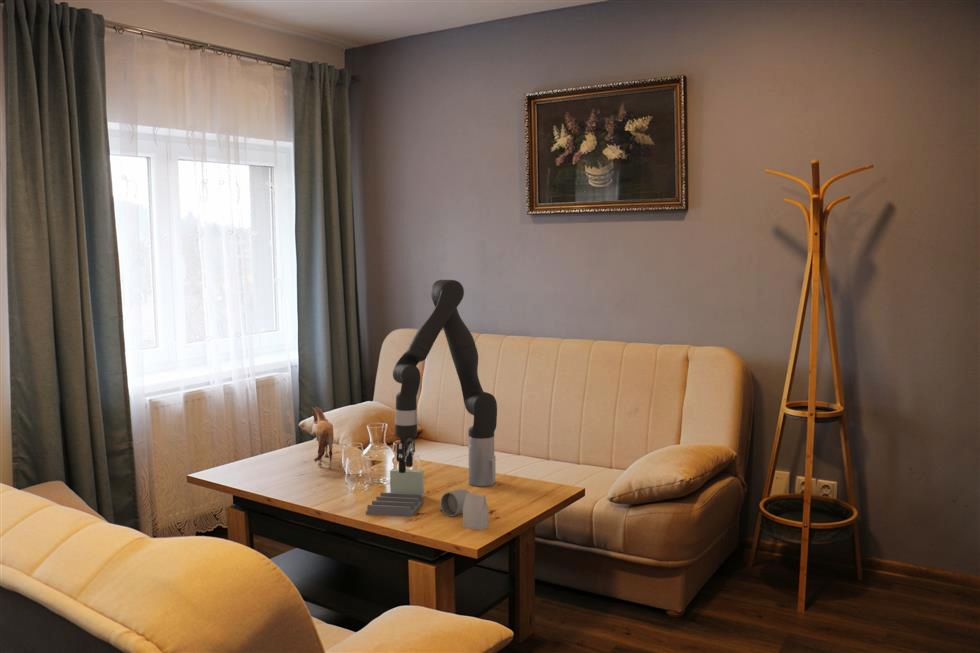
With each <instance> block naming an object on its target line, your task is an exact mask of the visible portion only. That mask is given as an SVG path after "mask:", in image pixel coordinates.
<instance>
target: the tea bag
mask: <svg viewBox="0 0 980 653" xmlns="http://www.w3.org/2000/svg"><path fill="white" fill-rule="evenodd" d="M462 527H463V528H467V527H468V528H467V529H472V530H477V529H478V531H481V530H482V531H483V529H484V530H486V529H487V528H489V506H488V503H487V499H486V495H482V494H476V493H471V492H470V493H466V496H465V501H464V505H463V513H462ZM485 528H486V529H485Z"/></svg>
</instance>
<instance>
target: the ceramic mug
mask: <svg viewBox="0 0 980 653" xmlns="http://www.w3.org/2000/svg"><path fill="white" fill-rule="evenodd" d="M466 493H471V492H470V491H468V490H467V489H462V488H461V489H456V490H452V491H447V492H444V493H443V495H442V496H441V499H440V505H438V507H439V508H438V509H439V510H440V511H442V512H443V513H444V515H446V516H448V517H451V518H452V517H455V516H459V515H461V514H463V505H464V501H465V496H466Z"/></svg>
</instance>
